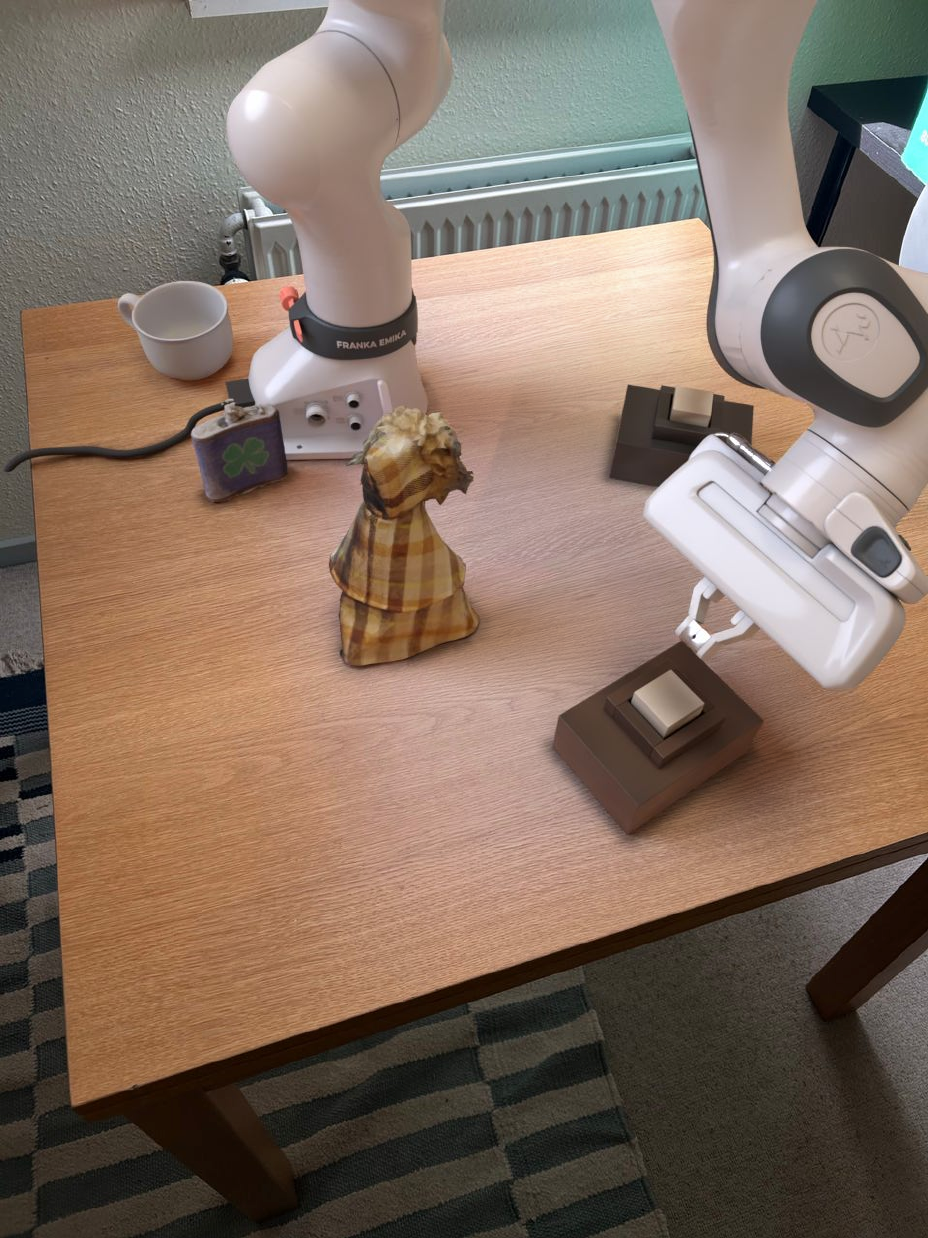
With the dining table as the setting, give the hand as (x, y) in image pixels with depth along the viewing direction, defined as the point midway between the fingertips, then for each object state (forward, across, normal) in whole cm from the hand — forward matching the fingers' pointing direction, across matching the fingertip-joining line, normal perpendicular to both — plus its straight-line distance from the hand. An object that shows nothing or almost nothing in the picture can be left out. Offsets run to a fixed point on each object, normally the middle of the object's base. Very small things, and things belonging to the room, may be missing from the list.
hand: (690, 647), depth 68 cm
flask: (+22, -49, 0) cm, 53 cm away
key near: (+6, 0, +6) cm, 9 cm away
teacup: (+20, -72, +2) cm, 75 cm away
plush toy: (+18, -25, +4) cm, 31 cm away
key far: (-13, -27, +25) cm, 39 cm away
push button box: (+11, 0, +11) cm, 15 cm away
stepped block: (-8, -27, +30) cm, 41 cm away
